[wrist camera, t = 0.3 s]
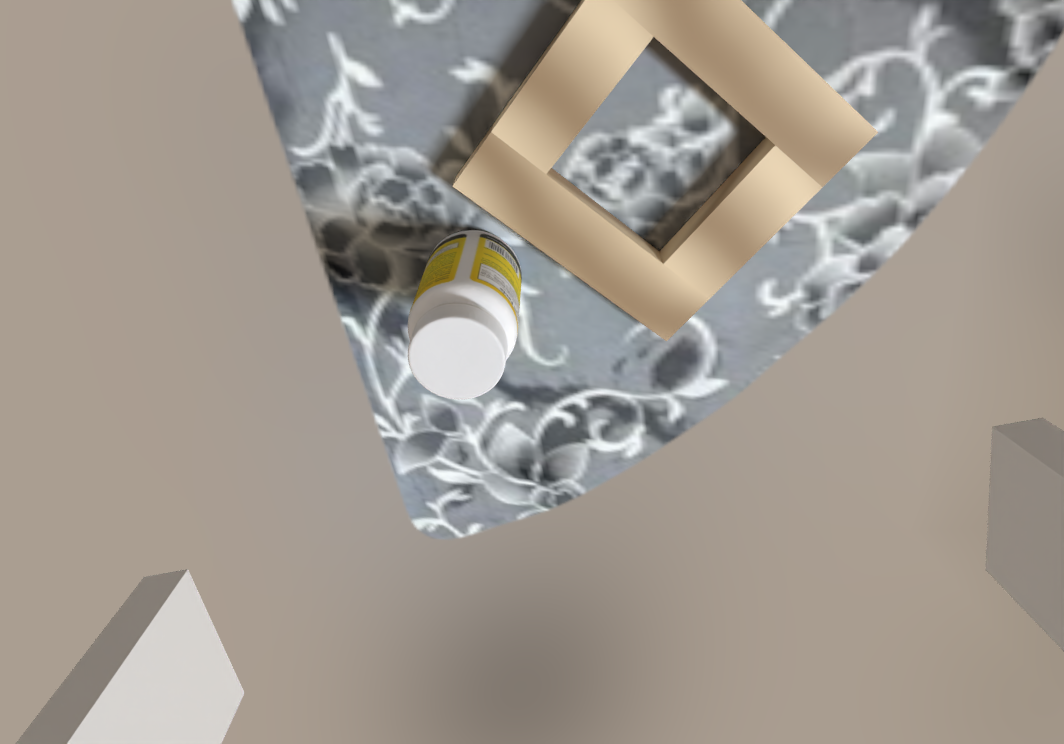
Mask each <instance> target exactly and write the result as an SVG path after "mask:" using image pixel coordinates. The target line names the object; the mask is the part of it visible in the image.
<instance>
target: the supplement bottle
mask: <svg viewBox="0 0 1064 744" xmlns="http://www.w3.org/2000/svg"><path fill="white" fill-rule="evenodd" d="M521 279H522V275H521V267H520V264H519V261H518V258H517V256H516V254H515V253H514V251H513V250H512V248H511V247H510V246H509V245H508V244H507V243H506V242H504V241H503V240H502V239H500V238H499V237H497V236H495V235H493V234H491V233H488V232H484V231H478V230H468V231H461V232H457V233H454V234H452V235H449V236H448V237H446V238H444V239H443V240H442V241H441V242H440V243H438V245H437V246H436V247H435V248H434V250H433V251H432V253H431V255H430V257H429V260H428V262H427V265H426V268H425V271H424V274H423V276H422V279H421V282H420V285H419V288H418V291H417V293H416V296H415V299H414V302H413V305H412V308H411V310H410V314H409V319H408V334H409V338H410V344H409V349H408V361H409V365H410V368H411V371H412V373H413V374H414V376H415V378H416V379H417V380H418V381H419V383H421V384H422V385H423V386H424V387H425V388H426V389H428V390H429V391H431V392H432V393H434V394H436V395H439V396H442V397H445V398H450V399H470V398H474V397H477V396H480V395H482V394H484V393H486V392H488V391H489V390H490V389H492V388H493V387H494V386H495V385H496V384H497V382H498V381H499V379H500V378H501V376H502V374H503V371H504V367H505V362H506V360H507V358H508V357H509V356H510V354H511V352H512V350H513V348H514V346H515V343H516V339H517V332H518V319H519V306H520V292H521Z"/></svg>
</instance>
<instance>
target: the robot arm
mask: <svg viewBox="0 0 1064 744" xmlns="http://www.w3.org/2000/svg"><path fill="white" fill-rule="evenodd" d="M987 528H988V529H987V550H986V571H987V572H988V573H989V574H990V575H991V576H992V577H993V578H994V580H995V581H996V582H997V583H998V584H999V585H1000V586H1001V587H1002V588H1003V589H1004V590H1005V591H1006V592H1007V593H1008V594H1009V595H1010V596H1011V597H1012V598H1013V599H1014V600H1015V601H1016V602H1017V603H1018V604H1019V605H1020V607H1021V608H1022V609H1024V611H1026V613H1027V614H1028V615H1029V616H1030V617H1031V618H1032V619H1033V620H1034V621H1035V622H1036V623H1037V624H1038V625H1039V626H1040V627H1041V628H1042V629H1043V630H1044V631H1045V632H1046V634H1047V635H1048V636H1049V637H1050V638H1051V639H1052V640H1053V641H1054V642H1055V643H1056V644H1057V645H1058V646H1059V647H1060V648H1061V649H1062V650H1063V651H1064V431H1063V430H1061V429H1060V428H1058V427H1057V426H1055V425H1053V424H1052V423H1050V422H1049V421H1047V420H1046V419H1044V418H1038V419H1032V420H1027V421H1021V422H1016V423H1010V424H1004V425H999V426H994V427H992V443H991V465H990V485H989V506H988V527H987ZM243 695H244V691H243V689H242V687H241V685H240V682H239V680H238V678H237V676H236V674H235V671H234V670H233V667H232V665H231V663H230V660H229V658H228V656H227V654H226V652H225V650H224V647H223V645H222V643H221V641H220V639H219V637H218V634H217V632H216V630H215V628H214V626H213V623H212V621H211V619H210V617H209V615H208V613H207V610H206V608H205V606H204V604H203V601H202V599H201V597H200V595H199V593H198V591H197V588H196V586H195V584H194V582H193V580H192V577H191V575H190V573H189V571H188V569H187V570H182V571H176V572H170V573H164V574H159V575H153V576H147V577H144V578H143V579H142V580H141V582H140V583H139V584H138V586H137V587H136V588H135V590H134V591H133V592H132V593H131V595H130V596H129V597H128V599H127V600H126V601H125V603H124V604H123V605H122V606H121V608H120V609H119V610H118V612H117V613H116V614H115V615H114V617H113V618H112V619H111V621H110V622H109V623H108V625H107V626H106V627H105V628H104V630H103V631H102V632H101V634H100V635H99V636H98V638H97V639H96V640H95V641H94V643H93V644H92V645H91V647H90V648H89V649H88V650H87V652H86V653H85V654H84V656H83V657H82V658H81V659H80V661H79V662H78V663H77V665H76V666H75V667H74V669H73V670H72V671H71V673H70V674H69V675H68V676H67V678H66V679H65V680H64V682H63V683H62V684H61V686H60V687H59V688H58V689H57V691H56V692H55V693H54V694H53V696H52V697H51V698H50V700H49V701H48V702H47V704H46V705H45V706H44V708H43V709H42V710H41V711H40V713H39V714H38V715H37V717H36V718H35V719H34V720H33V722H32V723H31V724H30V726H29V727H28V728H27V729H26V731H25V732H24V734H23V735H22V736H21V737H20V739H19V740H18V741H17V742H16V744H221V743H222V741H223V739H224V736H225V734H226V732H227V730H228V728H229V726H230V723H231V721H232V719H233V717H234V715H235V712H236V710H237V708H238V706H239V704H240V701H241V699H242V697H243Z"/></svg>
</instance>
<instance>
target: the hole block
mask: <svg viewBox="0 0 1064 744" xmlns="http://www.w3.org/2000/svg"><path fill="white" fill-rule="evenodd" d="M653 37H655V38H656V39H657V40H658V41H659V42H660V43H661V44H663V45H664V46H665V47H666V48H667V49H668V50H669V51H670V52H672V53H673V54H674V55H675V56H676V57H677V58H678V59H679V60H680V61H682V62H683V63H684V64H685V65H686V66H687V67H688V68H689V69H691V70H692V71H693V72H694V73H695V74H696V75H697V76H698V77H699V78H701V79H702V80H703V81H704V82H705V83H706V84H707V85H708V86H710V87H711V88H712V89H713V90H714V91H715V92H716V93H717V94H719V95H720V96H721V97H722V98H723V99H724V100H725V101H726V102H727V103H729V104H730V105H731V106H732V107H733V108H734V109H735V110H736V111H738V112H739V113H740V114H741V115H742V116H743V117H744V118H745V119H747V120H748V121H749V122H750V123H751V124H752V125H753V126H754V127H755V128H757V129H758V130H759V131H760V132H761V133H762V134H763V135H764V136H766V137H765V139H764V140H763V141H762V142H761V143H760V144H759V145H758V146H757V147H756V148H755V149H754V150H753V151H752V153H751V154H750V155H749V156H748V157H747V158H746V159H745V160H744V161H743V162H742V163H741V164H740V165H739V167H738V168H737V169H736V170H735V171H734V172H733V173H732V174H731V175H730V176H729V177H728V178H727V179H726V181H725V182H724V183H723V184H722V185H721V186H720V187H719V188H718V189H717V190H716V191H715V192H714V193H713V195H712V196H711V197H710V198H709V199H708V200H707V201H706V202H705V203H704V204H703V205H702V206H701V207H700V209H699V210H698V211H697V212H696V213H695V214H694V215H693V216H692V217H691V218H690V219H689V220H688V221H687V222H686V224H685V225H684V226H683V227H682V228H681V229H680V230H679V231H678V232H677V233H676V234H675V235H674V236H673V238H672V239H671V240H670V241H669V242H668V243H667V244H666V245H665V246H664V247H663V248H662V249H661V250H660V251H658V250H657V249H656V248H654V247H653V246H652V245H651V244H649V243H648V242H647V241H645V240H644V239H643V238H642V237H640V236H639V235H638V234H636V233H635V232H634V231H632V230H631V229H630V228H629V227H627V226H626V225H625V224H623V223H622V222H621V221H619V220H618V219H617V218H616V217H614V216H613V215H612V214H610V213H609V212H608V211H607V210H605V209H604V208H603V207H601V206H600V205H599V204H597V203H596V202H595V201H594V200H592V199H591V198H590V197H588V196H587V195H586V194H585V193H583V192H582V191H581V190H579V189H578V188H577V187H575V186H574V185H573V184H572V183H570V182H569V181H568V180H566V179H565V178H564V177H563V176H561V175H560V174H559V173H557V172H556V171H555V170H553V169H552V166H553V165H554V164H555V162H556V161H557V160H558V159H559V157H560V156H561V155H562V154H563V152H564V151H565V150H566V148H567V147H568V146H569V145H570V143H571V142H572V141H573V139H574V138H575V137H576V136H577V134H578V133H579V132H580V130H581V129H582V128H583V127H584V125H585V124H586V123H587V122H588V120H589V119H590V118H591V116H592V115H593V114H594V113H595V111H596V110H597V109H598V107H599V106H600V105H601V104H602V102H603V101H604V100H605V98H606V97H607V96H608V95H609V93H610V92H611V91H612V90H613V88H614V87H615V86H616V84H617V83H618V82H619V81H620V79H621V78H622V77H623V75H624V74H625V73H626V72H627V70H628V69H629V68H630V66H631V65H632V64H633V63H634V61H635V60H636V59H637V58H638V56H639V55H640V54H641V52H642V51H643V50H644V49H645V47H646V46H647V45H648V43H649V42H650V41H651V40H652V38H653ZM877 133H878V132H877V131H876V130H875V129H874V128H873V127H872V126H871V125H870V124H869V123H868V122H867V121H866V120H865V119H864V118H863V117H862V116H861V115H860V114H859V113H858V112H857V111H856V110H855V109H853V108H852V107H851V106H850V105H849V104H848V103H847V102H846V101H845V100H844V99H843V98H842V97H841V96H840V95H839V94H838V93H837V92H836V91H835V90H834V89H833V88H832V87H831V86H830V85H829V84H828V83H826V82H825V81H824V80H823V79H822V78H821V77H820V76H819V75H818V74H817V73H816V72H815V71H814V70H813V69H812V68H811V67H810V66H809V65H808V64H807V63H806V62H805V61H804V60H803V59H802V58H801V57H799V56H798V55H797V54H796V53H795V52H794V51H793V50H792V49H791V48H790V47H789V46H788V45H787V44H786V43H785V42H784V41H783V40H782V39H781V38H780V37H779V36H778V35H777V34H776V33H775V32H773V31H772V30H771V29H770V28H769V27H768V26H767V25H766V24H765V23H764V22H763V21H762V20H761V19H760V18H759V17H758V16H757V15H756V14H755V13H754V12H753V11H752V10H751V9H750V8H749V7H748V6H746V5H745V4H744V3H743V2H742V1H741V0H581V1H580V3H579V4H578V5H577V7H576V8H575V10H574V11H573V12H572V14H571V15H570V17H569V18H568V20H567V21H566V22H565V24H564V25H563V27H562V28H561V29H560V31H559V32H558V34H557V35H556V36H555V38H554V39H553V41H552V42H551V43H550V45H549V46H548V48H547V49H546V50H545V52H544V53H543V55H542V56H541V58H540V59H539V60H538V62H537V63H536V65H535V66H534V67H533V69H532V70H531V72H530V73H529V74H528V76H527V77H526V79H525V80H524V81H523V83H522V84H521V86H520V87H519V88H518V90H517V91H516V93H515V94H514V96H513V97H512V98H511V100H510V101H509V103H508V104H507V105H506V107H505V108H504V110H503V111H502V112H501V114H500V115H499V117H498V118H497V119H496V121H495V122H494V124H493V125H492V126H491V128H490V129H489V131H488V132H487V134H486V135H485V136H484V138H483V139H482V141H481V142H480V143H479V145H478V146H477V148H476V149H475V150H474V152H473V153H472V155H471V156H470V157H469V159H468V160H467V162H466V163H465V164H464V166H463V167H462V169H461V170H460V172H459V173H458V174H457V176H456V178H455V181H454V183H453V187H454V188H456V189H457V190H458V191H460V192H461V193H462V194H464V195H465V196H467V197H468V198H469V199H471V200H472V201H474V202H475V203H476V204H478V205H479V206H480V207H482V208H483V209H485V210H486V211H487V212H489V213H490V214H491V215H493V216H494V217H496V218H497V219H498V220H500V221H501V222H503V223H504V224H505V225H507V226H508V227H509V228H511V229H512V230H514V231H515V232H516V233H518V234H519V235H521V236H522V237H523V238H525V239H526V240H527V241H529V242H530V243H532V244H533V245H534V246H536V247H537V248H538V249H540V250H541V251H543V252H544V253H545V254H547V255H548V256H550V257H551V258H552V259H554V260H555V261H556V262H558V263H559V264H561V265H562V266H563V267H565V268H566V269H567V270H569V271H570V272H572V273H573V274H574V275H576V276H577V277H579V278H580V279H581V280H583V281H584V282H585V283H587V284H588V285H590V286H591V287H592V288H594V289H595V290H597V291H598V292H599V293H601V294H602V295H603V296H605V297H606V298H608V299H609V300H610V301H612V302H613V303H614V304H616V305H617V306H619V307H620V308H621V309H623V310H624V311H626V312H627V313H628V314H630V315H631V316H632V317H634V318H635V319H637V320H638V321H639V322H641V323H642V324H644V325H645V326H646V327H648V328H649V329H650V330H652V331H653V332H655V333H656V334H657V335H659V336H660V337H661V338H663V339H664V340H666V341H667V340H668V339H669V338H670V337H671V336H672V335H673V334H674V333H675V332H676V331H677V330H678V329H679V328H680V327H681V326H682V325H684V324H685V323H686V322H687V321H688V320H689V319H690V318H691V317H692V316H693V315H694V314H695V313H696V312H697V311H698V310H699V309H700V308H701V307H702V306H703V305H704V304H705V303H706V302H707V301H708V300H709V299H710V298H711V297H712V296H713V295H714V294H715V293H716V292H717V291H718V290H719V289H720V288H721V287H722V286H723V285H724V284H725V283H726V282H727V281H728V280H729V279H730V278H731V277H732V276H733V275H734V274H735V273H736V272H737V271H738V270H739V269H740V268H741V267H742V266H743V265H744V264H745V263H746V262H747V261H748V260H749V259H750V258H751V257H752V256H753V255H754V254H755V253H756V252H757V251H758V250H759V249H760V248H761V247H762V246H764V245H765V244H766V243H767V242H768V241H769V240H770V239H771V238H772V237H773V236H774V235H775V234H776V233H777V232H778V231H779V230H780V229H781V228H782V227H783V226H784V225H785V224H786V223H787V222H788V221H789V220H790V219H791V218H792V217H793V216H794V215H795V214H796V213H797V212H798V211H799V210H800V209H801V208H802V207H803V206H804V205H805V204H806V203H807V202H808V201H809V200H810V199H811V198H812V197H813V196H814V195H815V194H816V193H817V192H818V191H819V190H820V189H821V188H822V187H823V186H824V185H825V184H826V183H827V182H828V181H829V180H830V179H831V178H832V177H833V176H834V175H835V174H836V173H837V172H838V171H839V170H840V169H841V168H842V167H844V166H845V165H846V164H847V163H848V162H849V161H850V160H851V159H852V158H853V157H854V156H855V155H856V154H857V153H858V152H859V151H860V150H861V149H862V148H863V147H864V146H865V145H866V144H867V143H868V142H869V141H870V140H871V139H872V138H873V137H874V136H875V135H876V134H877Z"/></svg>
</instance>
